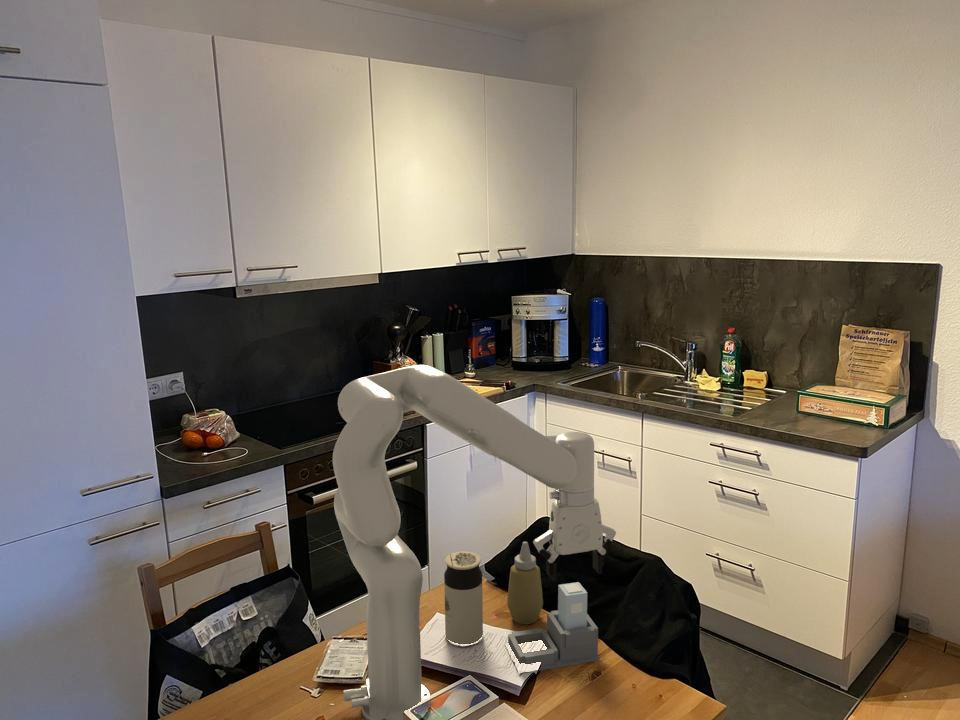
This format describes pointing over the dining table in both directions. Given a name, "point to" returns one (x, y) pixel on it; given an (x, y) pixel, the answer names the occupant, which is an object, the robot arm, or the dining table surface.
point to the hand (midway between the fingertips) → (575, 574)
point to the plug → (572, 606)
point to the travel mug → (463, 598)
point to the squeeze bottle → (525, 588)
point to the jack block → (557, 644)
